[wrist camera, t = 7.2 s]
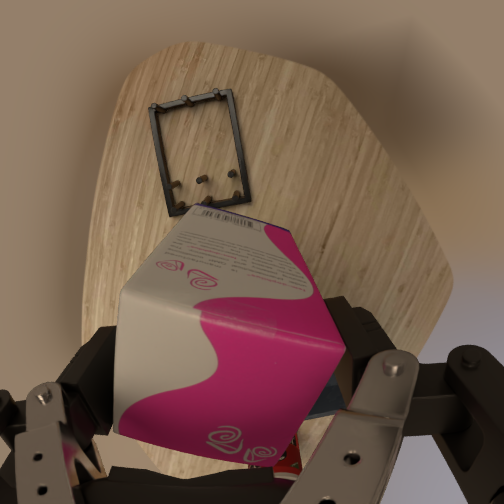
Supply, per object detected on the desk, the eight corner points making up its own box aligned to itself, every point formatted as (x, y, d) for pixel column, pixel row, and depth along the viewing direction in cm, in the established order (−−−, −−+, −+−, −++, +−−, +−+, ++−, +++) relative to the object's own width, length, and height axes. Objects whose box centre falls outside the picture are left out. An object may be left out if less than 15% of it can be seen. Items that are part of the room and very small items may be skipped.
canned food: (298, 417, 43) (307, 473, 33) (294, 447, 46) (302, 499, 35) (247, 419, 43) (247, 477, 33) (248, 449, 46) (249, 502, 35)
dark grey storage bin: (289, 332, 39) (294, 359, 33) (370, 316, 38) (386, 339, 33) (297, 393, 42) (302, 420, 36) (368, 377, 41) (380, 403, 36)
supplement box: (171, 293, 19) (104, 434, 8) (194, 200, 18) (114, 274, 7) (261, 318, 20) (275, 474, 9) (293, 229, 18) (357, 339, 7)
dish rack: (151, 108, 30) (139, 103, 27) (231, 90, 30) (229, 82, 26) (171, 215, 34) (162, 223, 30) (251, 200, 34) (252, 206, 30)
